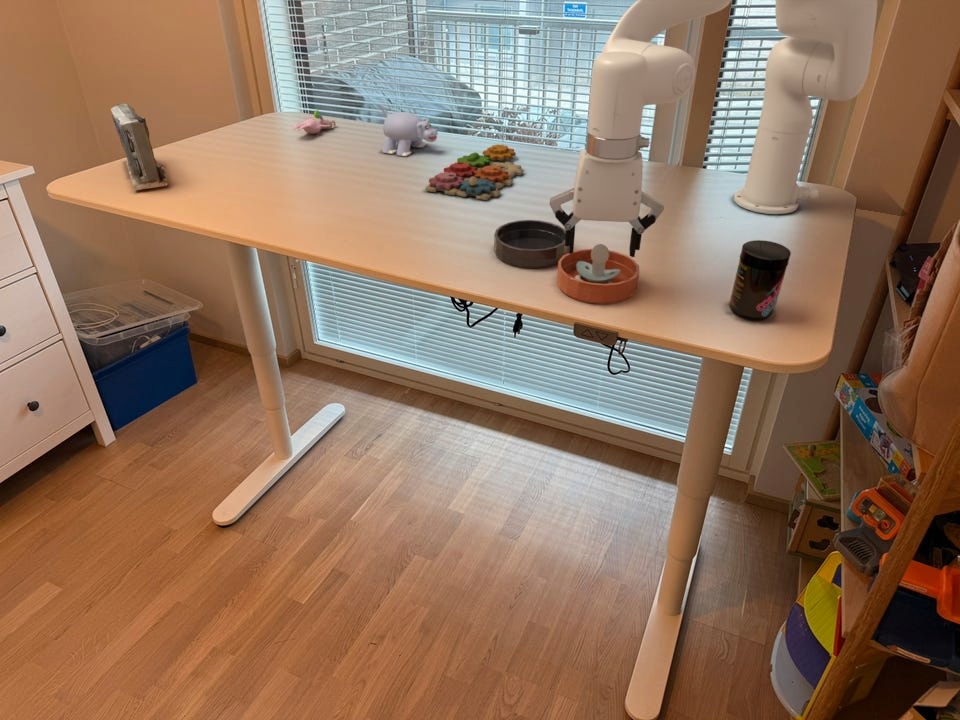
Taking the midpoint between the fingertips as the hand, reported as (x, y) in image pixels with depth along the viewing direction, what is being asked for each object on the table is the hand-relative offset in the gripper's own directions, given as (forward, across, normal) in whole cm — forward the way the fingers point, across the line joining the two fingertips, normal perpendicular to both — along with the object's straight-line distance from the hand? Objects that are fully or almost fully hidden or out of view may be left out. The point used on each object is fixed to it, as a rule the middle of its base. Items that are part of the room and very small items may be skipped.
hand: (601, 251), depth 110 cm
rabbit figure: (+6, +75, -75) cm, 106 cm away
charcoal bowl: (+6, +12, -10) cm, 17 cm away
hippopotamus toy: (+6, +47, -65) cm, 80 cm away
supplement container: (+6, -23, +6) cm, 25 cm away
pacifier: (+6, 0, 0) cm, 6 cm away
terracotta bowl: (+6, 0, 0) cm, 6 cm away
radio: (+6, +102, -38) cm, 109 cm away
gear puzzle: (+6, +26, -50) cm, 56 cm away
